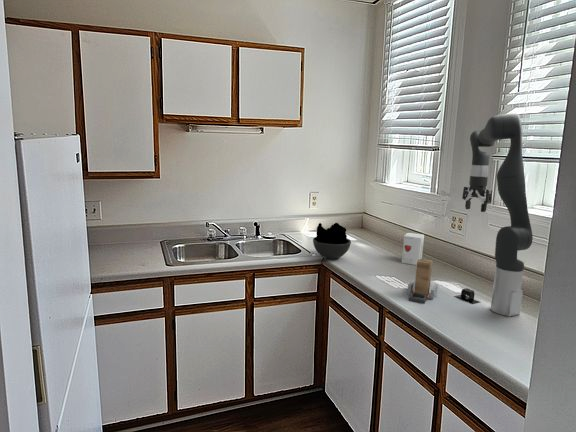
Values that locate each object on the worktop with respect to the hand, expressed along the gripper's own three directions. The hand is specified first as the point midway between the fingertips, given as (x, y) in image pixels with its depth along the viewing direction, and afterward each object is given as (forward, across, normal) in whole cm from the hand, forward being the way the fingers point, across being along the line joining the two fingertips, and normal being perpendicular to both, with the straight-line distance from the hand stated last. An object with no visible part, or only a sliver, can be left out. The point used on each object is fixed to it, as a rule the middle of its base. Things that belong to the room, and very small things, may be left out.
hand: (475, 210), depth 196 cm
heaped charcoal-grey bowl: (+32, -50, -46) cm, 75 cm away
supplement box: (+32, -30, -8) cm, 45 cm away
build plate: (+34, +20, -23) cm, 45 cm away
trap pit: (+33, +13, -43) cm, 56 cm away
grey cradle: (+33, +9, -36) cm, 50 cm away
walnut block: (+32, +10, -38) cm, 50 cm away
